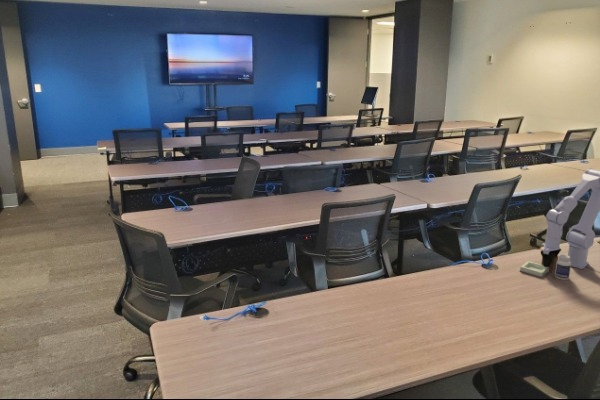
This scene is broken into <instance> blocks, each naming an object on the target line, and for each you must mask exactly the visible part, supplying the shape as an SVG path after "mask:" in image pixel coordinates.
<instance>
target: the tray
mask: <svg viewBox="0 0 600 400" xmlns="http://www.w3.org/2000/svg"><path fill="white" fill-rule="evenodd" d="M519 272H521V273H524V274H529V275H532V276H534V277H537V278H538V277H539V278H543V277H544V276H545V275H547V273H549V272H550V271H549V267H544V266H543V265H542V264H541V263H537V262H534V261H530V260H528V261H526V262H525V263H523V264H522V265H521V266H520V269H519Z"/></svg>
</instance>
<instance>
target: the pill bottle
mask: <svg viewBox="0 0 600 400" xmlns="http://www.w3.org/2000/svg"><path fill="white" fill-rule="evenodd" d="M571 267H572V266H571V262H570V257H569V256H568V254H560V255H558V260H557V263H556V269H555V271H554V277H555V278H556V279H558V280H563V281H565V280H569V278H570V272H571Z"/></svg>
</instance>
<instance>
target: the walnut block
mask: <svg viewBox="0 0 600 400" xmlns="http://www.w3.org/2000/svg"><path fill="white" fill-rule="evenodd" d="M557 260H559V255H558V256H554V257H553V259H552V261H551V264H550V266H549V272H550V273H555V269H556V263H557ZM540 264H542V265H543V258H541V263H540Z"/></svg>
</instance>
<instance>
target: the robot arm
mask: <svg viewBox="0 0 600 400" xmlns="http://www.w3.org/2000/svg"><path fill="white" fill-rule="evenodd" d="M589 190H591V191H592V192H591V194H590V197H589V199H588V201H587V203H586V206H585V208H584V211H582V215H581V217H580V219H579V222H578V223H577V224H575V225H573V226H571V227H570V230H569V231H568V232H567V234H566V237H565V240H566V241H567V244H568V250H567V251H568V252H567V256H569V257H570V262H571V267H573V268H577V269H581V270H583V269H584V268H586V266H587V265H589V263H590V261H588V256H589V255H588V254H589V249H590V248H591V247H592V246H593V245H594V243H595V242H594V241H595V237H596V234H595V233H596V232H595V231H594V230H593V226H594V224H595V221H596V219H597V217H598V214H599V213H600V170H599V169H595V168H592V167H591V168H587V169H586V170H585V171H584V173H582V174H581V181H580V182H579V183H578V184H577V186H576V187H575V189H574V190H573V191H572V192H571V194H570V195H568V196H564V197H563V199H562V200H560V202H559V203H558V204H557V205H556V207H555V208H552V209H549V211H548V212H547V213H546V215H545V219H546V224H547V228H546V233H545V234H546V235H545V240H544V242H543V243H541V246H543V249H542V250H540V255H541V257H542V258H543V266H544V267H549V266H550V264H551V261H552V259H553V257H554V256H558V257H559V254H560V253H561V251H562V248H560V244H561V239H562V234H563V227H564V225H565V224H566V223H567V222H568V220H569V216H570V213H571V212H572V211H573V210H574V209H575V208H576V207H577V206H578V201H579V199H581V198H582V197H583V196H584V195H585V194H586V193H587V192H588V191H589ZM542 258H541V259H542Z"/></svg>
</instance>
